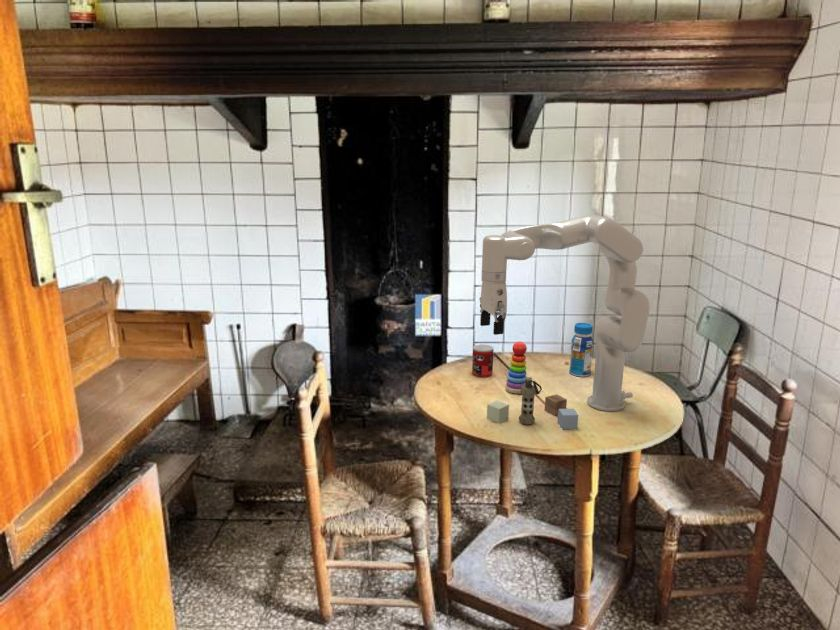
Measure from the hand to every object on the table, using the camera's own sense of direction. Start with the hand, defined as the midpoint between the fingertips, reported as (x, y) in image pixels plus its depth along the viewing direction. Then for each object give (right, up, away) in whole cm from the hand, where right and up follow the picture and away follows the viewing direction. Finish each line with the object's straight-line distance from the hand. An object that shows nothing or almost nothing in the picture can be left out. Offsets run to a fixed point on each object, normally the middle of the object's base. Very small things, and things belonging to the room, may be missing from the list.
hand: (491, 329), depth 200 cm
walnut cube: (+23, -28, +16) cm, 40 cm away
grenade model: (+13, -30, +9) cm, 34 cm away
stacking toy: (+13, -23, +34) cm, 43 cm away
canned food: (+2, -19, +50) cm, 53 cm away
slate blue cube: (+25, -31, +6) cm, 40 cm away
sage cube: (+3, -30, +11) cm, 32 cm away
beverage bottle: (+41, -19, +51) cm, 68 cm away
